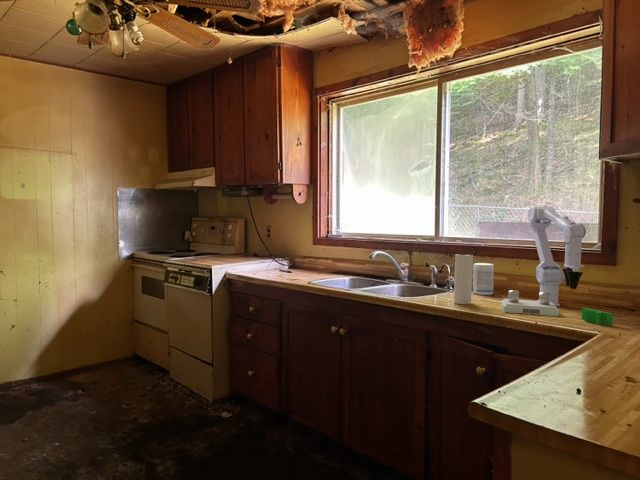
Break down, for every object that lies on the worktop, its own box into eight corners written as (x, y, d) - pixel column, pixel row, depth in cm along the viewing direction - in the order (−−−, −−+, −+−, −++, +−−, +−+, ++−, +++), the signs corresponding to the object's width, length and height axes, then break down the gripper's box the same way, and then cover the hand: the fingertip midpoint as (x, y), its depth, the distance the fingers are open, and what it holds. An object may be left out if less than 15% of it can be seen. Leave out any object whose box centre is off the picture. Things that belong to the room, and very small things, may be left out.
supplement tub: (497, 294, 228) (498, 264, 227) (483, 296, 223) (484, 265, 222) (482, 291, 236) (483, 262, 235) (468, 292, 232) (469, 263, 231)
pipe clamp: (576, 320, 176) (577, 308, 176) (583, 319, 178) (583, 307, 178) (605, 327, 166) (606, 314, 166) (612, 326, 168) (613, 313, 167)
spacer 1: (507, 300, 195) (508, 289, 195) (518, 301, 194) (518, 290, 194) (508, 302, 192) (508, 291, 191) (518, 303, 190) (519, 292, 190)
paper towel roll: (453, 304, 202) (455, 254, 201) (454, 301, 208) (455, 253, 207) (470, 305, 200) (472, 255, 199) (471, 302, 206) (473, 254, 204)
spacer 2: (537, 302, 192) (538, 291, 191) (548, 303, 191) (548, 292, 191) (539, 304, 188) (540, 293, 188) (550, 305, 187) (551, 294, 187)
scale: (501, 305, 201) (501, 297, 201) (552, 309, 195) (553, 301, 195) (503, 312, 187) (503, 304, 187) (559, 316, 181) (559, 308, 181)
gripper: (588, 255, 182) (586, 290, 182) (580, 253, 195) (578, 285, 196) (568, 255, 184) (566, 289, 185) (561, 252, 198) (559, 284, 198)
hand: (571, 287), depth 191 cm, fingers open, 7 cm apart
